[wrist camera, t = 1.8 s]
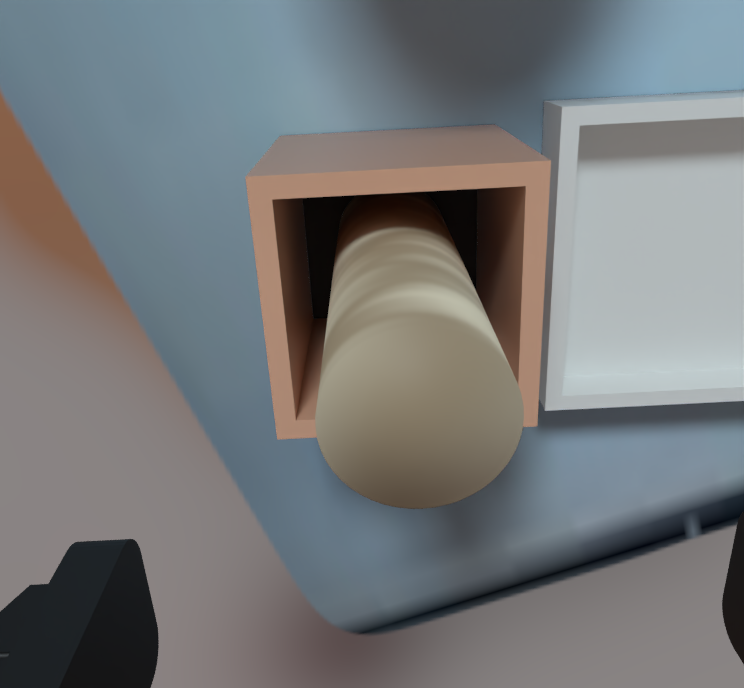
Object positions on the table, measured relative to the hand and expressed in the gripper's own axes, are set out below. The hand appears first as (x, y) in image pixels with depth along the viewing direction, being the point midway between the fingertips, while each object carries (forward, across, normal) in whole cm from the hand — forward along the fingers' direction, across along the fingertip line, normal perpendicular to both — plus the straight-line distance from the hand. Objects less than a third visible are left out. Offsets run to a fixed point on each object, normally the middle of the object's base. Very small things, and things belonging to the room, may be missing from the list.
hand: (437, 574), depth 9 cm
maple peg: (+18, 0, 0) cm, 18 cm away
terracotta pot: (+18, 0, 0) cm, 18 cm away
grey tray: (+18, -13, +1) cm, 22 cm away
